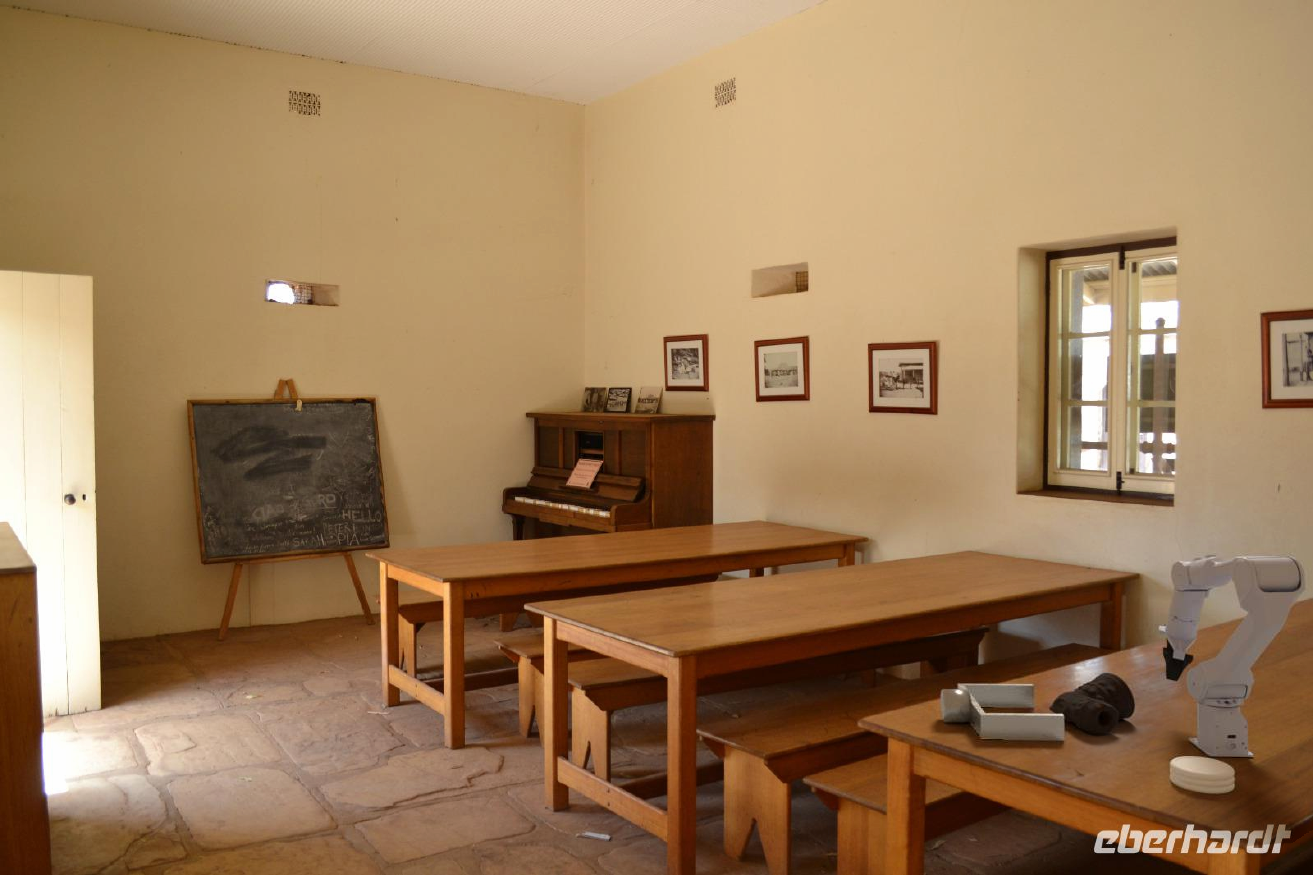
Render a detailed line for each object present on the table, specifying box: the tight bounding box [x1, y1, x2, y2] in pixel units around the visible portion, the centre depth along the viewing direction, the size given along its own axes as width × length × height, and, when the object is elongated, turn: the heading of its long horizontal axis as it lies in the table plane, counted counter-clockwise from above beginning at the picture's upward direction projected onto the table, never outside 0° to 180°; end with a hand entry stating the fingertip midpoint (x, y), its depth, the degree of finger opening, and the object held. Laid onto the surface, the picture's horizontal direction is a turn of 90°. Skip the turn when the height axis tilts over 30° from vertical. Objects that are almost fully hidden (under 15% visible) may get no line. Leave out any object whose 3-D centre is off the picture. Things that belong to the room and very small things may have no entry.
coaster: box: [1169, 755, 1236, 795], centre depth 177 cm, size 10×10×4 cm
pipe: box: [1048, 672, 1136, 735], centre depth 212 cm, size 10×15×15 cm
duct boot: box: [940, 683, 1065, 742], centre depth 214 cm, size 23×21×7 cm
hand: (1172, 669), depth 212 cm, fingers open, 7 cm apart
